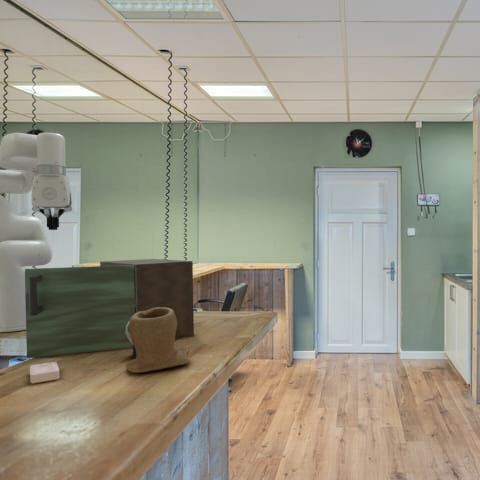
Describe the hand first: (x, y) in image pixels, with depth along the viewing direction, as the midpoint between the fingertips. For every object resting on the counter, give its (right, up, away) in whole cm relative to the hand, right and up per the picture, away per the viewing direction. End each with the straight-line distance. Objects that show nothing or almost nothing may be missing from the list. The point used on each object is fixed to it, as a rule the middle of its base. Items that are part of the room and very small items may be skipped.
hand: (53, 229), depth 147 cm
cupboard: (+28, -35, +4) cm, 45 cm away
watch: (+39, -35, -22) cm, 57 cm away
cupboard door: (+22, -35, -21) cm, 46 cm away
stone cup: (+49, -35, -34) cm, 70 cm away
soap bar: (+25, -36, -40) cm, 59 cm away
